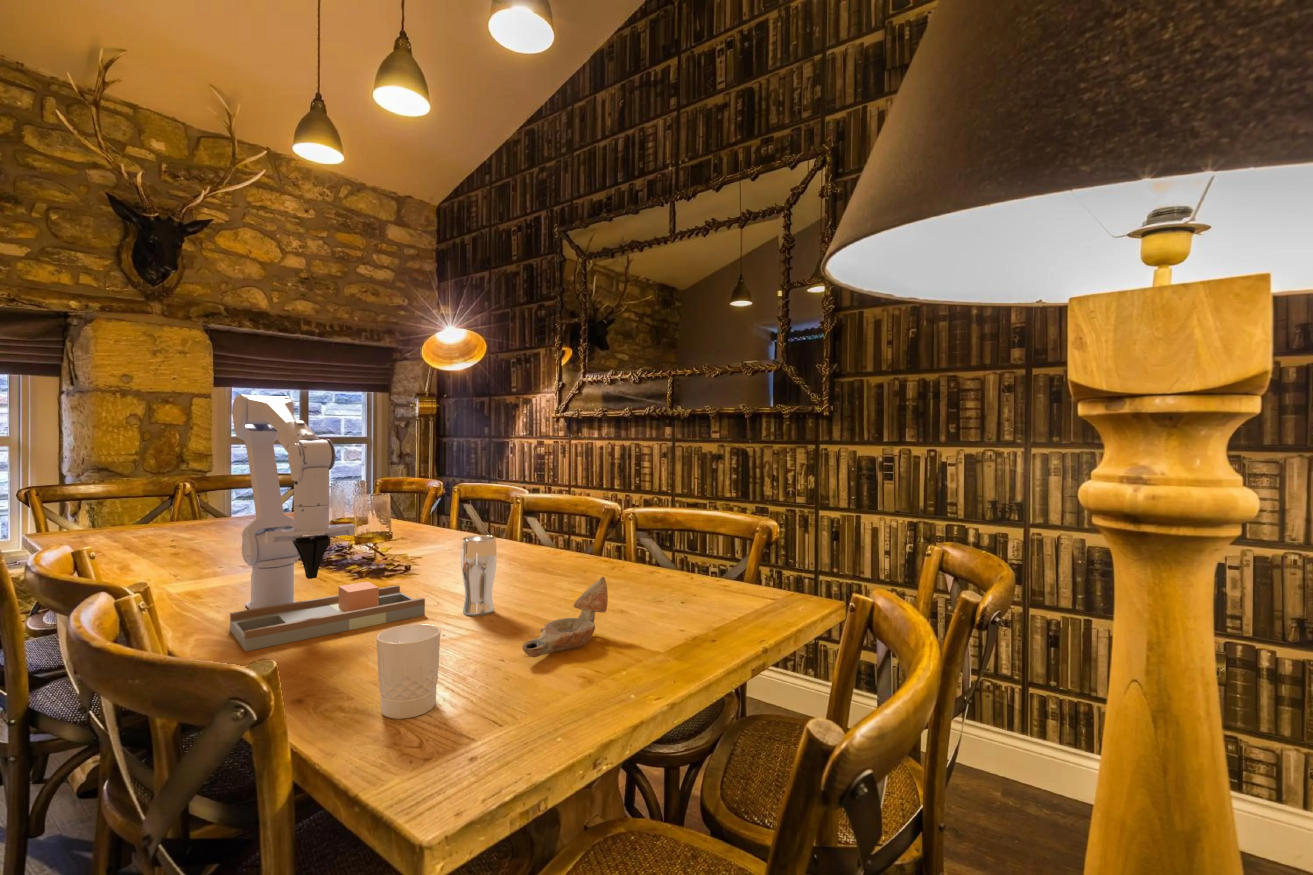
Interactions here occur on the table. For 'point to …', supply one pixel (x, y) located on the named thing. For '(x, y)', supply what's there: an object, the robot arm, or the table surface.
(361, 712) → the table surface
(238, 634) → the grey long tray
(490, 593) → the beer glass
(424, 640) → the white cup
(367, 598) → the block
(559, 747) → the table surface
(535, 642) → the oil lamp
